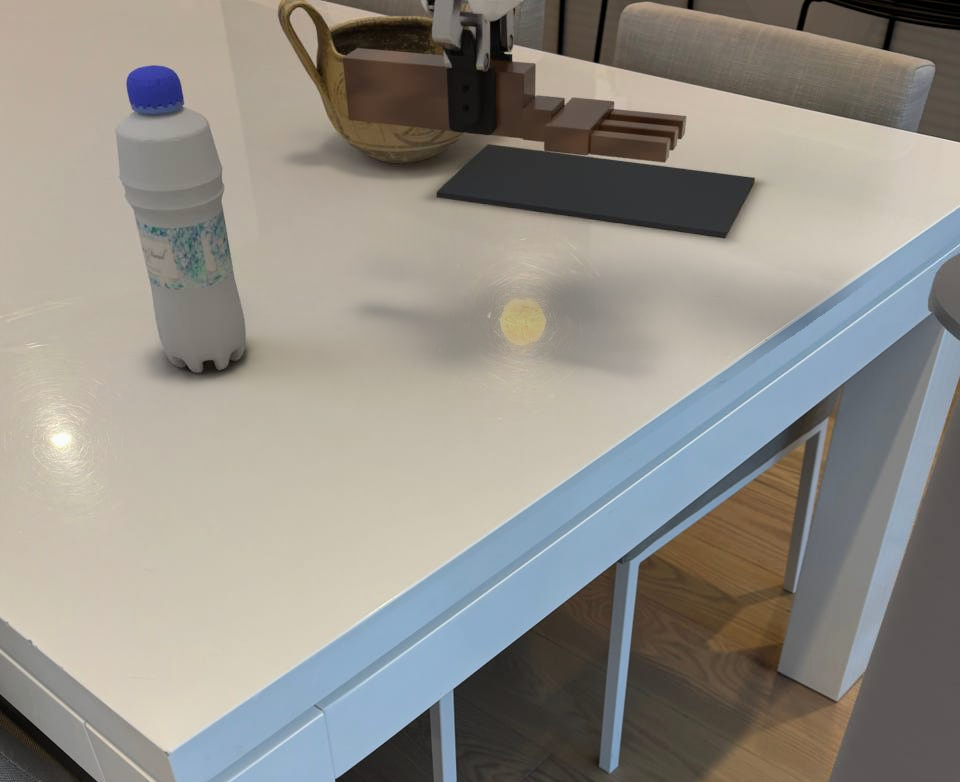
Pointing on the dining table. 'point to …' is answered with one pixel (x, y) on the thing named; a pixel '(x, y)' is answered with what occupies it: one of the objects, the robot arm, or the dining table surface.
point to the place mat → (601, 189)
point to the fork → (503, 107)
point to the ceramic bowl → (330, 81)
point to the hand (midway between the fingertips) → (481, 121)
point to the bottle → (180, 221)
